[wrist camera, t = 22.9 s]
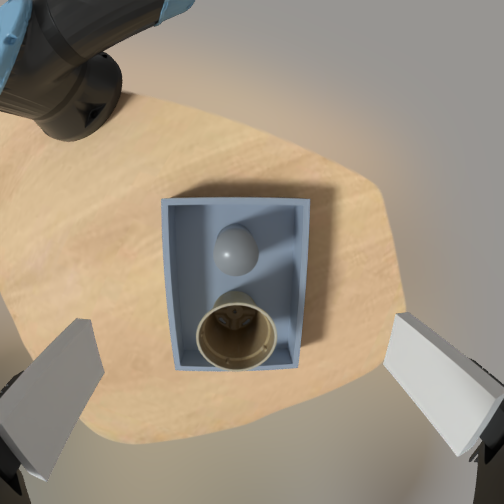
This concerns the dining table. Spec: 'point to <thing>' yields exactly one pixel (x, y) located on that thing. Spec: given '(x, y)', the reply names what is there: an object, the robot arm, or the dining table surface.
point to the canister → (235, 250)
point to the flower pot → (236, 333)
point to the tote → (217, 283)
